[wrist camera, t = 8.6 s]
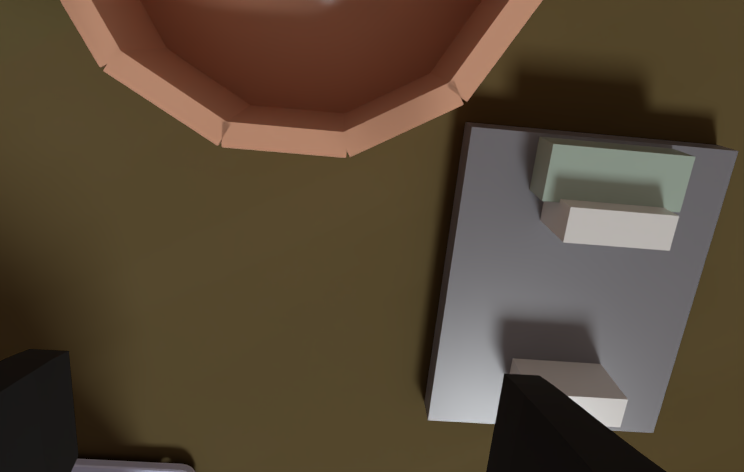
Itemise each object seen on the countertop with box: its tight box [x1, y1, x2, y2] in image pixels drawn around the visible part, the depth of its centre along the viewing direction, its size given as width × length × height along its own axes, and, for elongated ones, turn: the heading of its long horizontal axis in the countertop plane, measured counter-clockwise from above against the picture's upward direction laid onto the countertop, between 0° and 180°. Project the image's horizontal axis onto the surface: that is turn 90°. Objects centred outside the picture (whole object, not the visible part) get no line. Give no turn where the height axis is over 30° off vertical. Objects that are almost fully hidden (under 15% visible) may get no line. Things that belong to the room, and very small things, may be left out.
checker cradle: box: [424, 122, 738, 433], centre depth 18 cm, size 8×10×3 cm
